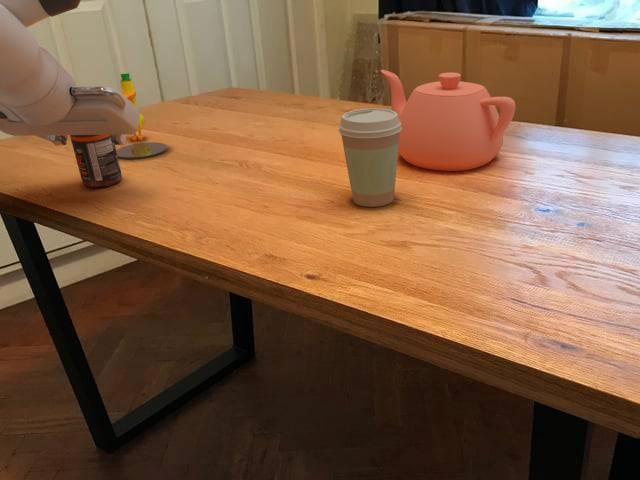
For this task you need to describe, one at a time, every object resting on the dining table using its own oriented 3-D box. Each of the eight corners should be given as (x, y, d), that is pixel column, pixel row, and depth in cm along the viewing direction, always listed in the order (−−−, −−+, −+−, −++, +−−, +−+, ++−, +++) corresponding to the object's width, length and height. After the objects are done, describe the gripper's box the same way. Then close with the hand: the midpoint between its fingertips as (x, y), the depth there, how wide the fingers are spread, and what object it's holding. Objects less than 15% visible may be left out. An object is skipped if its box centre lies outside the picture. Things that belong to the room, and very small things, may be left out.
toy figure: (144, 143, 123) (130, 77, 117) (124, 145, 122) (109, 78, 117) (149, 133, 129) (136, 70, 123) (131, 135, 128) (116, 71, 122)
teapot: (354, 157, 111) (349, 75, 105) (412, 133, 122) (411, 58, 116) (484, 184, 97) (487, 92, 91) (535, 155, 109) (542, 70, 102)
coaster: (104, 155, 117) (103, 153, 117) (142, 142, 124) (142, 140, 124) (140, 162, 113) (139, 159, 113) (178, 147, 120) (177, 145, 120)
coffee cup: (395, 186, 98) (393, 105, 92) (410, 207, 91) (408, 119, 85) (339, 192, 97) (333, 110, 91) (348, 214, 89) (343, 125, 83)
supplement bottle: (77, 182, 104) (57, 111, 99) (113, 173, 108) (97, 103, 102) (91, 191, 101) (72, 117, 95) (129, 182, 104) (112, 109, 99)
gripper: (117, 67, 87) (160, 121, 101) (-28, 70, 89) (33, 123, 103) (109, 109, 86) (154, 159, 99) (-38, 112, 88) (25, 160, 101)
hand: (91, 141), depth 101 cm, fingers open, 8 cm apart
